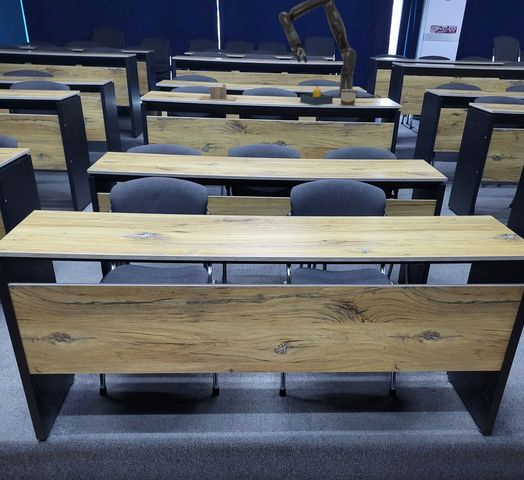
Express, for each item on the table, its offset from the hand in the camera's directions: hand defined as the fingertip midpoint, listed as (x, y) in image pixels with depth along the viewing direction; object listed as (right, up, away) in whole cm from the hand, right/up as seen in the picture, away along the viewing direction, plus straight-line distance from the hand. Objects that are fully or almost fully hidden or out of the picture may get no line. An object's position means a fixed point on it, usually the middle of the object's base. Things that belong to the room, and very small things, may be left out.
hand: (303, 61), depth 379 cm
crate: (+10, -29, +1) cm, 31 cm away
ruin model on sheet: (-62, -25, +4) cm, 67 cm away
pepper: (+10, -29, +1) cm, 31 cm away
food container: (+31, -34, -4) cm, 46 cm away
